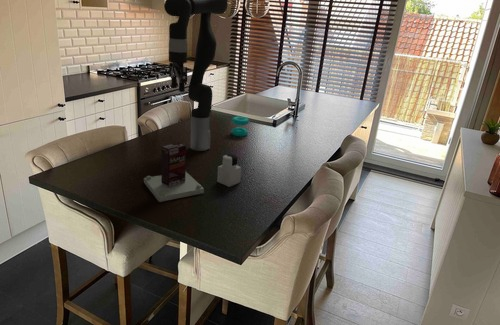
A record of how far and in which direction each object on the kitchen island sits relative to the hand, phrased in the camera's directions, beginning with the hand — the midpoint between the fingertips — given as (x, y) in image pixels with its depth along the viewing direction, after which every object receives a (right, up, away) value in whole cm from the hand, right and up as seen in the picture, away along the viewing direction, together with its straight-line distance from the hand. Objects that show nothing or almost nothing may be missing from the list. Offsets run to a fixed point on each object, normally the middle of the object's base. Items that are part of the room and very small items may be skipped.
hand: (177, 89), depth 155 cm
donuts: (+25, -15, +61) cm, 67 cm away
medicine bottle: (+22, -40, -2) cm, 45 cm away
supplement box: (+1, -40, -11) cm, 41 cm away
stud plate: (0, -41, -11) cm, 43 cm away
